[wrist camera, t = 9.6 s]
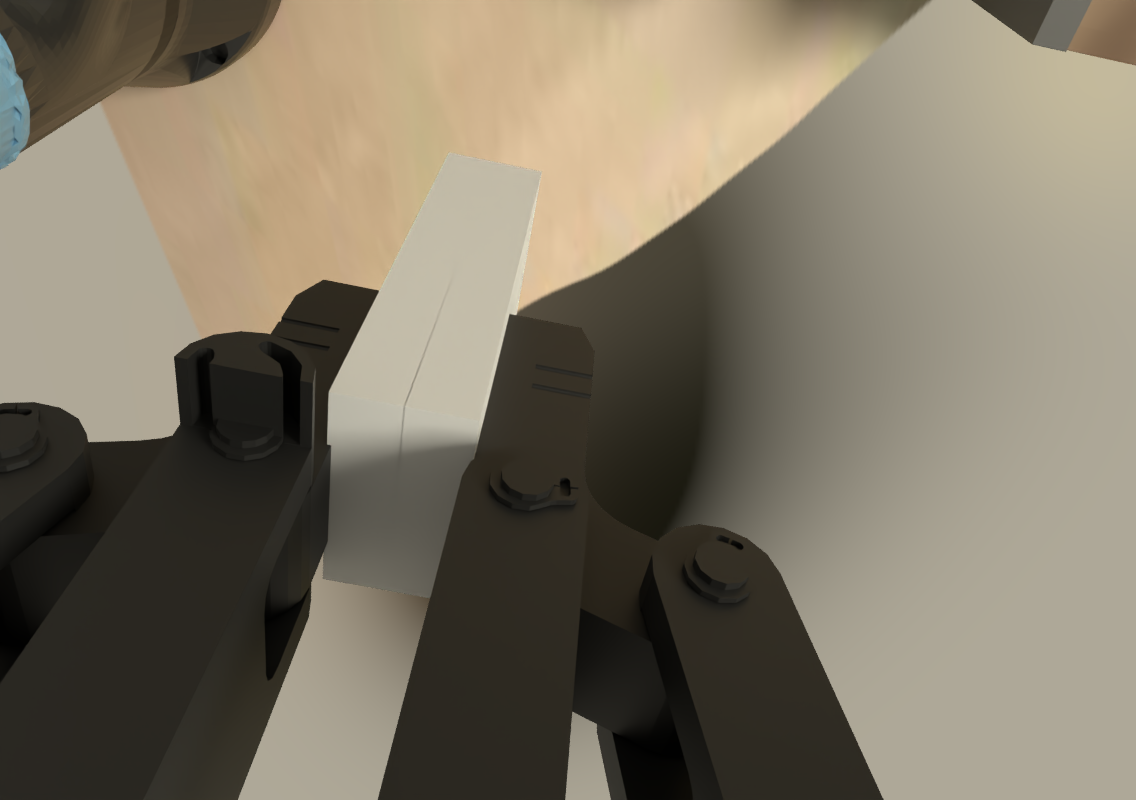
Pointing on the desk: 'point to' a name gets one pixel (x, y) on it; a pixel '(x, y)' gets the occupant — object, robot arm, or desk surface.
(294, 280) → the desk surface
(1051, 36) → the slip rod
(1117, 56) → the socket block
